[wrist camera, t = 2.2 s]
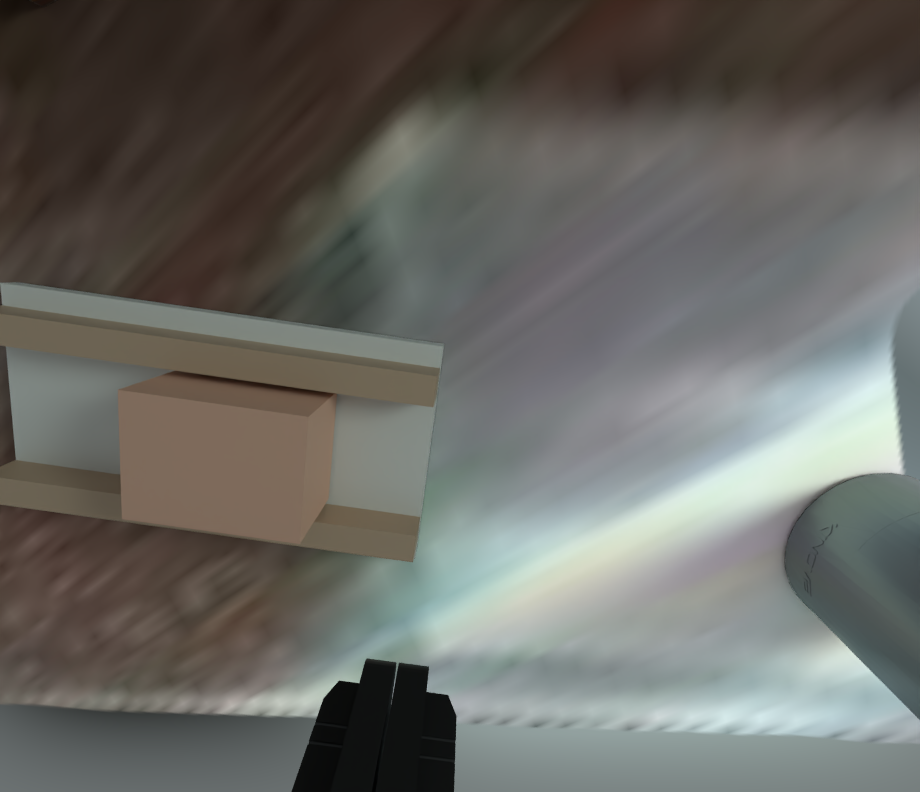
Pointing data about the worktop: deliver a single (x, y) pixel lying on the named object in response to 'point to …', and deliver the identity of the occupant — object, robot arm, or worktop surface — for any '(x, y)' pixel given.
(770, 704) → the worktop surface
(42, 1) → the food container
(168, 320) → the chute
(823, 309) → the worktop surface
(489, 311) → the worktop surface
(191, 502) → the block
